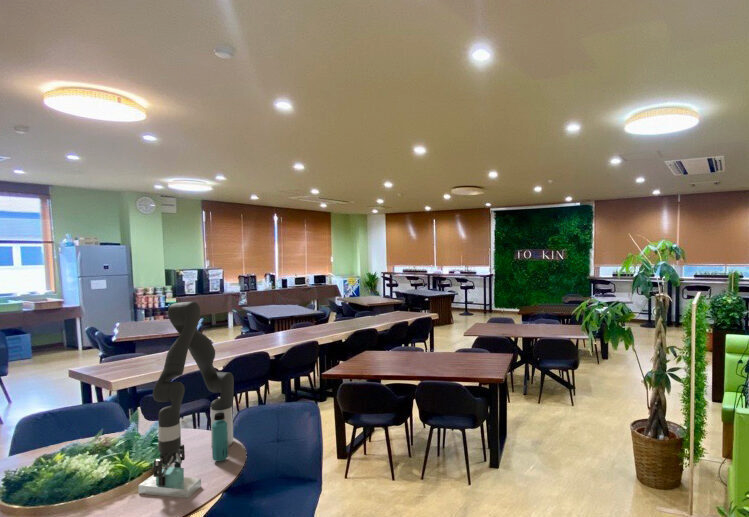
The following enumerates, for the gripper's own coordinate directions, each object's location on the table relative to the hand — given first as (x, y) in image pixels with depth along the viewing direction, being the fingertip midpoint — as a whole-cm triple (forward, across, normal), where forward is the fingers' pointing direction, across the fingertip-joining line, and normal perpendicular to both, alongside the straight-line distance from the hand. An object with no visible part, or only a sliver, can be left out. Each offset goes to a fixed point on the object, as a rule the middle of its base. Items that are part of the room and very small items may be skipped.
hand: (170, 480), depth 156 cm
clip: (+3, 0, 0) cm, 3 cm away
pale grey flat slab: (+4, 0, 0) cm, 4 cm away
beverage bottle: (+4, -24, +6) cm, 25 cm away
